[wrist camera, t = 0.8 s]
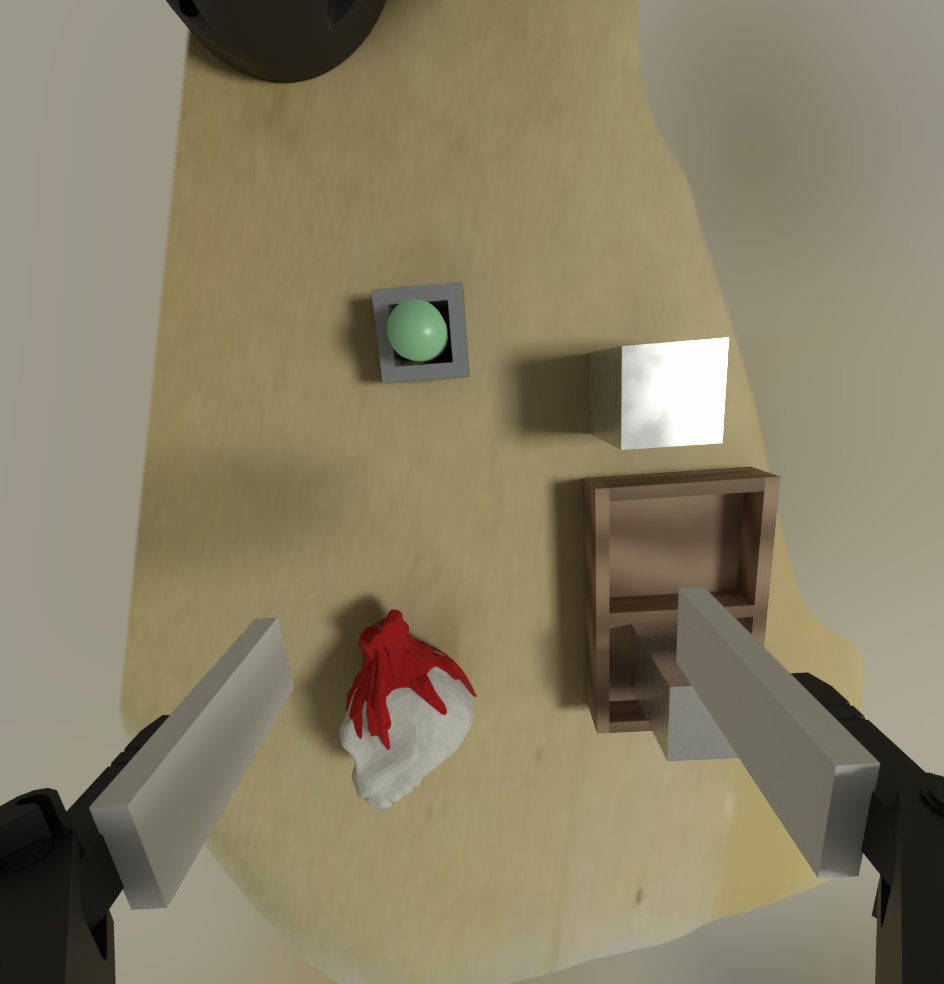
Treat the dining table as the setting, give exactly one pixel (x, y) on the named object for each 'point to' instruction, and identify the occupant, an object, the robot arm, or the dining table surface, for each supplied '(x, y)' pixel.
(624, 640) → the wooden cubby shelf
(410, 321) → the button
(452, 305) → the button housing
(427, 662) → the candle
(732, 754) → the block
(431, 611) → the dining table surface
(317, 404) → the dining table surface
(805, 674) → the robot arm
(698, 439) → the block
